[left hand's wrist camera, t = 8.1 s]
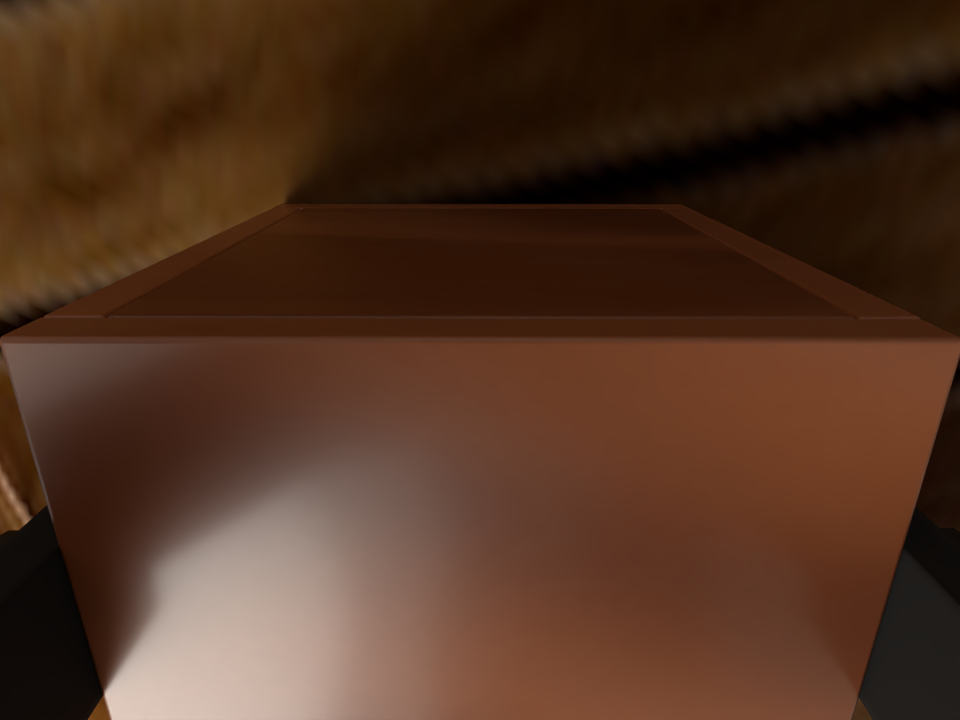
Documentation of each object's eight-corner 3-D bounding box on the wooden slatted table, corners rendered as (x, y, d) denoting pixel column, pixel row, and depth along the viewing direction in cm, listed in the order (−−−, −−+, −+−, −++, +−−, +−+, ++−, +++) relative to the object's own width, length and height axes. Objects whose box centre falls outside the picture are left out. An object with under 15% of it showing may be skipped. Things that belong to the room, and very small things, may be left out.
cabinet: (625, 701, 25) (730, 1135, 14) (336, 700, 25) (229, 1133, 14) (682, 204, 18) (969, 338, 7) (281, 203, 18) (-7, 336, 7)
